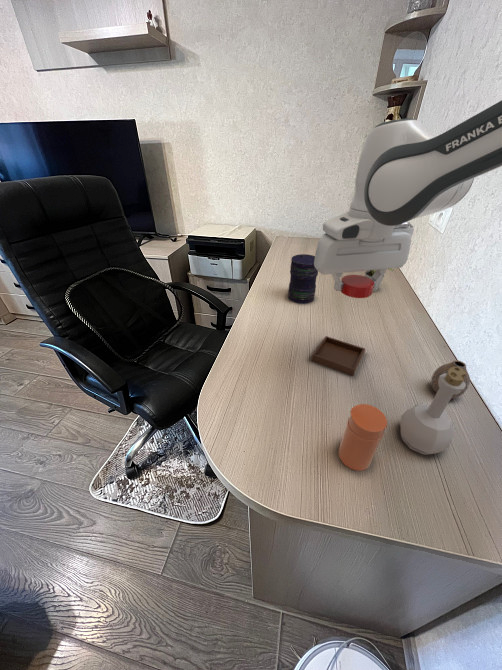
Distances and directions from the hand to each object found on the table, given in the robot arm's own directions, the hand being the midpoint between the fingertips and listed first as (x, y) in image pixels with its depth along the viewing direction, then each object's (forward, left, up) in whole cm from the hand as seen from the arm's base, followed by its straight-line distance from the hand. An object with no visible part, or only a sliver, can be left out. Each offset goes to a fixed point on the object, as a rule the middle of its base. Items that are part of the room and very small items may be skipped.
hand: (354, 288), depth 63 cm
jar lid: (0, 0, +2) cm, 2 cm away
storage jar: (+23, -28, -21) cm, 42 cm away
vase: (-25, -2, -21) cm, 33 cm away
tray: (0, -1, -21) cm, 21 cm away
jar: (-12, +26, -21) cm, 35 cm away
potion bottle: (-21, +15, -21) cm, 34 cm away
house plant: (+2, -49, -21) cm, 53 cm away
